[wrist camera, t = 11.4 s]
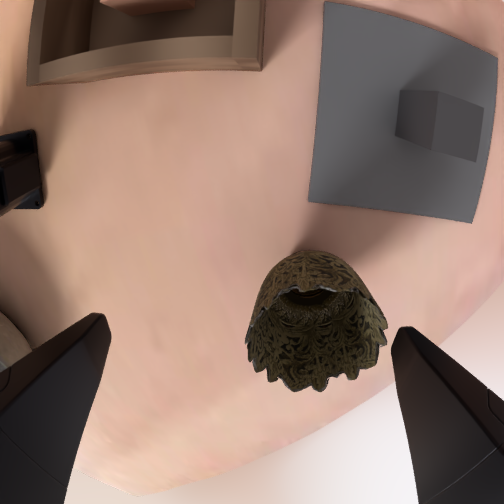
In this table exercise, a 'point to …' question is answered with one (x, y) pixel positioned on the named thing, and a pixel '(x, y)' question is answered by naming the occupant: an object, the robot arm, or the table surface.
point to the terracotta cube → (148, 5)
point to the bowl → (11, 343)
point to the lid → (400, 116)
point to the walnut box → (141, 40)
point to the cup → (314, 322)
